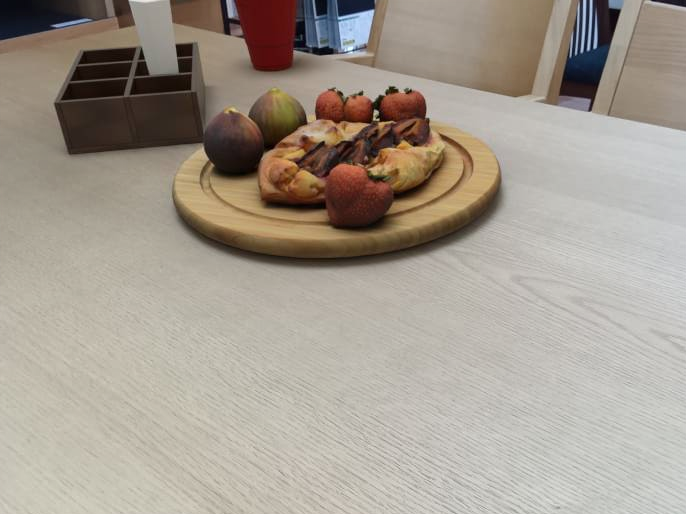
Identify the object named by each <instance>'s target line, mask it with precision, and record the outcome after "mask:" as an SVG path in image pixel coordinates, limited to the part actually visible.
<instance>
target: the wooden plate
mask: <svg viewBox="0 0 686 514" xmlns="http://www.w3.org/2000/svg"><path fill="white" fill-rule="evenodd" d="M403 91H404V92H400V91H399V88H397V86H394V85H388V88H386V89H385V91H384V94H378V96H377V97H376V98H374V101H373V100H372V99H370V98H369V97H367V96H365V95H364V91H363V89H361V90H360V91H359V92H356V93H355V92H354V93H352V94H348V96H344V92H342V91H341V90H340V89H337V87H336V86H332V87H331V88H327V90H326V91H322V92H321V93H320V94H318V96H317V98H316V101H315V107H314V114H307V113H306V110H305V109H304V107H303V105H302V104H301V103H300V101H299V100H298V99H296V98H295V97H294V96H292V95H290V94H289V93H287V92H285V91H283V90H280V89H279V88H278V87H277V86H271V88H270V89H269V90H268V91H267V92H266V93H264V94H263V95H261V96H260V97H259V98H258V99H257V100H256V101H255V102H254V103H253V104H252V106H251V107H250V109H249V111H248V115H245V114H244V113H242V112H241V111H239V110H238V109H237V108H236V107H235V106H228V107H227V108H225V109H223V110H222V111H220V112H219V113H217V114H216V115H215V116H214V117H213V119H212V120H210V122H209V123H208V124H207V126H206V127H205V133H204V138H203V142H202V144H203V146H202V147H200V148H199V149H198V150H196V151H195V152H194V153H193V154H191V155H190V156H189V157H187V158H186V160H184V162H183V163H182V164H181V165H180V167H179V168H178V170H177V172H176V173H175V176H174V178H173V182H172V187H171V189H172V190H171V197H172V201H173V205H174V208H175V209H176V211H177V212H178V214H179V215H180V216H181V217H182V218H183V220H184V221H185V222H186V223H187V224H188V225H190V226H191V227H192V228H193V229H194V230H196V231H197V232H199V233H201V234H202V235H204V236H206V237H208V238H210V239H212V240H214V241H217V242H219V243H222V244H225V245H227V246H230V247H233V248H237V249H240V250H244V251H249V252H253V253H258V254H262V255H263V254H264V255H270V256H279V257H291V258H300V259H333V258H334V259H335V258H336V259H337V258H351V257H360V256H368V255H376V254H377V255H378V254H383V253H389V252H393V251H399V250H404V249H407V248H411V247H414V246H418V245H422V244H424V243H428V242H431V241H433V240H436V239H439V238H441V237H444V236H446V235H449V234H450V233H453V232H455V231H458V230H459V229H461V228H463V227H465V226H467V225H468V224H470V223H471V222H472V221H474V220H476V219H477V218H478V217H479V216H481V215H482V214H483V213H484V212H485V211H486V210H487V209H488V208H489V207H490V206H491V204H492V203H493V202H494V200H495V199H496V197H497V196H498V194H499V191H500V189H501V184H502V170H501V166H500V161H498V158H497V156H496V154H495V153H494V152H493V150H492V149H491V148H490V147H489V146H488V145H487V144H486V143H485V142H483V141H482V140H481V139H479V138H478V137H476V136H474V135H472V134H471V133H470V132H469V133H468V132H467V131H465V130H462V129H460V128H457V127H456V126H453V125H449V124H446V123H443V122H439V121H435V120H431V119H430V118H429V117H427V112H428V111H427V109H428V108H427V100H426V98H425V96H424V95H423V94H422V93H421V92H420V91H418V90H416V89H413V88H409V87H406V88H404V89H403ZM375 111H377V112H375Z"/></svg>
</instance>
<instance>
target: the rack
mask: <svg viewBox="0 0 686 514" xmlns="http://www.w3.org/2000/svg"><path fill="white" fill-rule="evenodd" d="M175 46H176V54H177V62H178V70H179V73H175V74H162V75H150V74H149V71H148V67H147V64H146V60H145V57H144V53H143V50H142V46H141V45H133V46H120V47H118V46H117V47H106V48H105V47H103V48H90V49H80V50H79V51H78V53H77V55H76V57H75V59H74V61H73V63H72V65H71V68H70V70H69V72H68V73H67V75H66V77H65V79H64V81H63V84H62V85H61V87H60V90H59V91H58V94H57V95H56V97H55V100H54V101H53V106H54V109H55V113H56V116H57V119H58V120H57V121H58V123H59V127H60V129H61V133H62V137H63V140H64V143H65V146H66V150H67V154H68V155H75V153H76V154H85V153H86V152H87V153H96V152H97V153H99V152H107V151H108V152H109V151H119V150H129V149H131V150H132V149H140V148H141V149H142V148H151V147H164V146H175V145H186V144H197V143H203V138H204V133H205V130H206V84H205V78H204V73H203V66H202V59H201V54H200V49H199V42H198V41H191V42H188V41H187V42H175ZM84 152H85V153H84ZM87 153H86V154H87Z"/></svg>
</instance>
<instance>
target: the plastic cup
mask: <svg viewBox="0 0 686 514" xmlns="http://www.w3.org/2000/svg"><path fill="white" fill-rule="evenodd" d="M298 1H299V0H233V3H234V5H235V9H236V14H237V17H238V20H239V24H240V28H241V32H242V35H243V39H244V42H245V43H244V44H246V48H247V52H248V55H249V58H250V62H251V64H252V67H253V69H255V70H258V71H262V72H263V71H264V72H274V71H282V70H285V69H288V68H290V67H292V65H293V61H294V47H295V45H294V44H295V39H296V26H297V9H298Z"/></svg>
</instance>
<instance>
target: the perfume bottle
mask: <svg viewBox="0 0 686 514" xmlns="http://www.w3.org/2000/svg"><path fill="white" fill-rule="evenodd" d="M127 2H128V4H129V7H130V11H131V15H132V18H133V21H134V25H135V29H136V32H137V36H138V40H139V42H140V46H142V50H143V53H144V57H145V60H146V64H147V67H148V71H149V74H150V75H162V74H175V73H179V70H178V62H177V54H176V46H175V43H176V40H175V38H176V37H175V32H174V24H173V16H172V8H171V7H172V6H171V0H128V1H127Z"/></svg>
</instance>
